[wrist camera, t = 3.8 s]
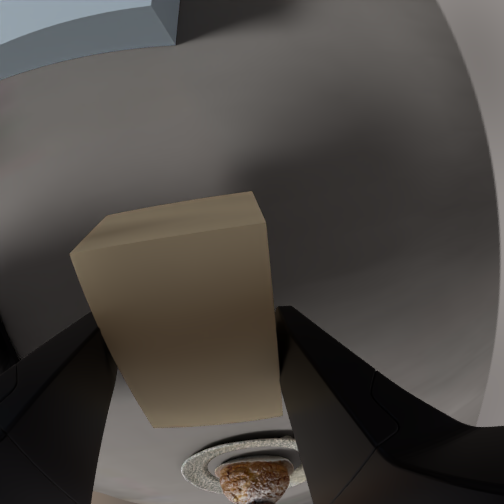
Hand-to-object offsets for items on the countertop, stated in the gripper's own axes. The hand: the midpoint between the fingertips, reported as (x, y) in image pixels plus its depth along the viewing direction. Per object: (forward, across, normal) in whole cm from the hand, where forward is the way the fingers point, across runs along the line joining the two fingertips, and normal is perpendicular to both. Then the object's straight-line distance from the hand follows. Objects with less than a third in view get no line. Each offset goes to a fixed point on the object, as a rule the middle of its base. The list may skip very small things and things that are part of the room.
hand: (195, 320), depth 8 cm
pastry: (+5, -3, +19) cm, 20 cm away
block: (+1, 0, 0) cm, 1 cm away
